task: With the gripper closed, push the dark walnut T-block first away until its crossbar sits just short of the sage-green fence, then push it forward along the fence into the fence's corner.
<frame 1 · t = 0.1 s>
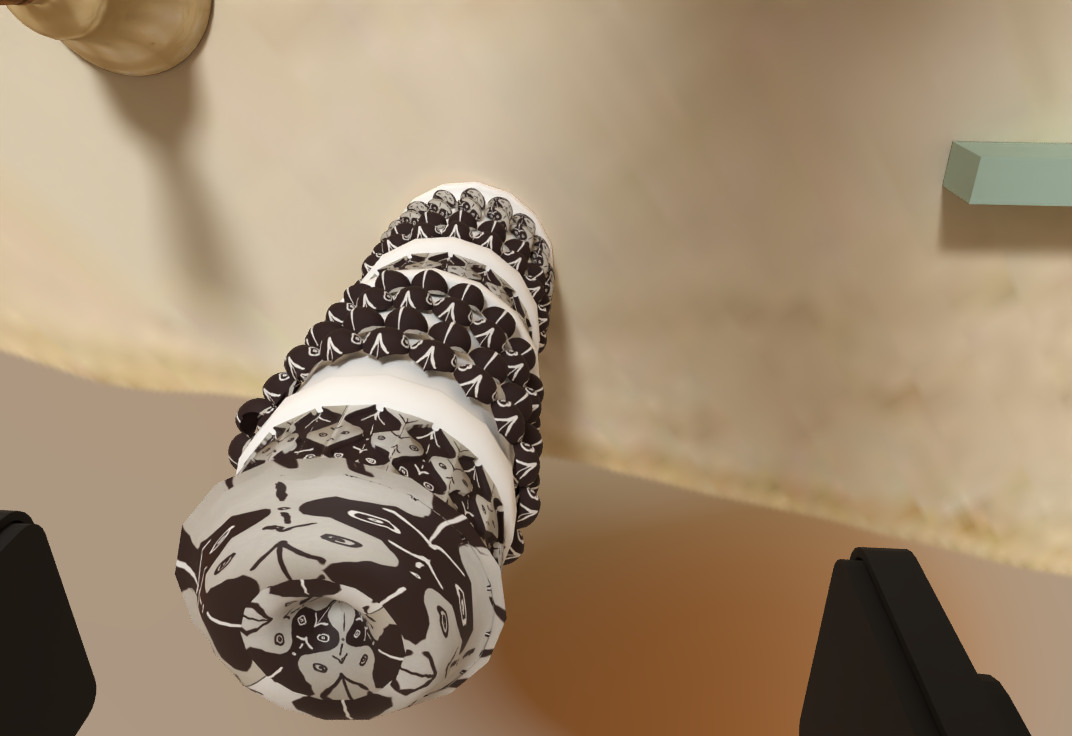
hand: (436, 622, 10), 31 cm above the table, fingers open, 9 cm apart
patterned stacked cylinder: (470, 264, 41), on the table
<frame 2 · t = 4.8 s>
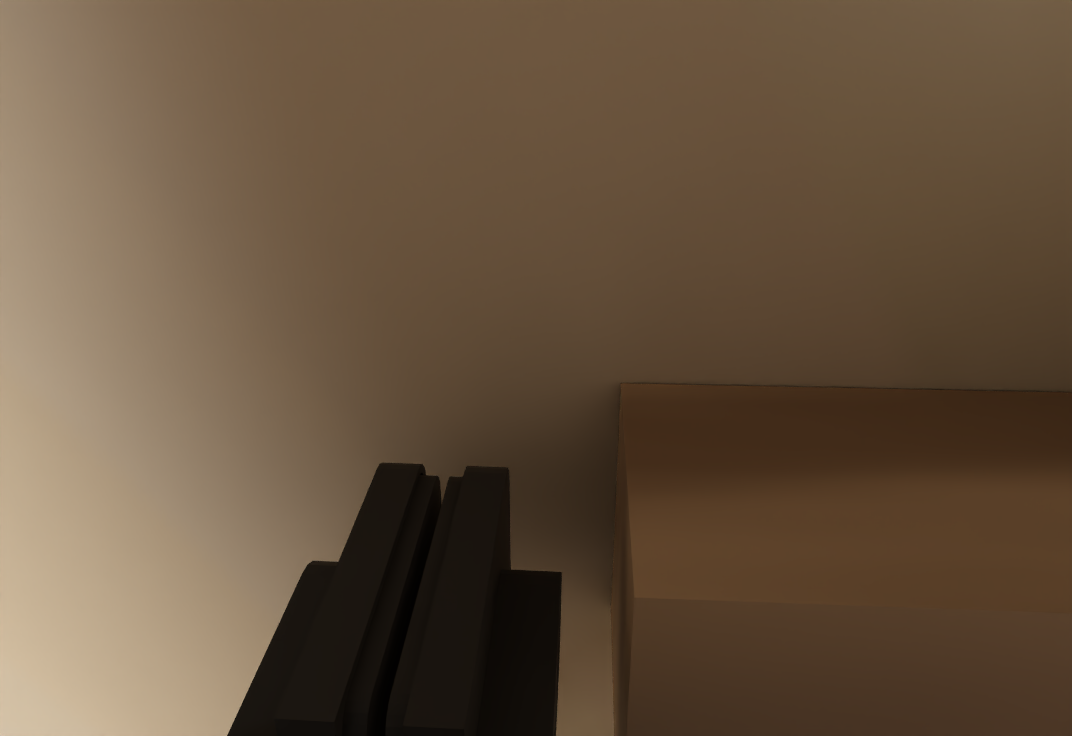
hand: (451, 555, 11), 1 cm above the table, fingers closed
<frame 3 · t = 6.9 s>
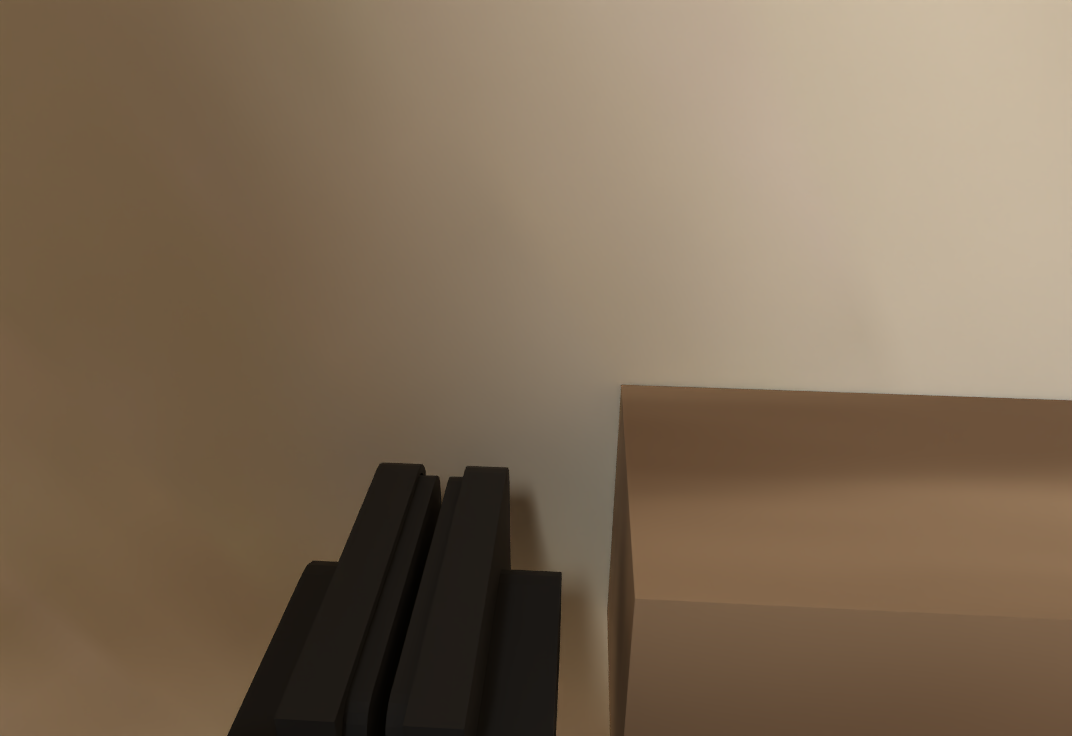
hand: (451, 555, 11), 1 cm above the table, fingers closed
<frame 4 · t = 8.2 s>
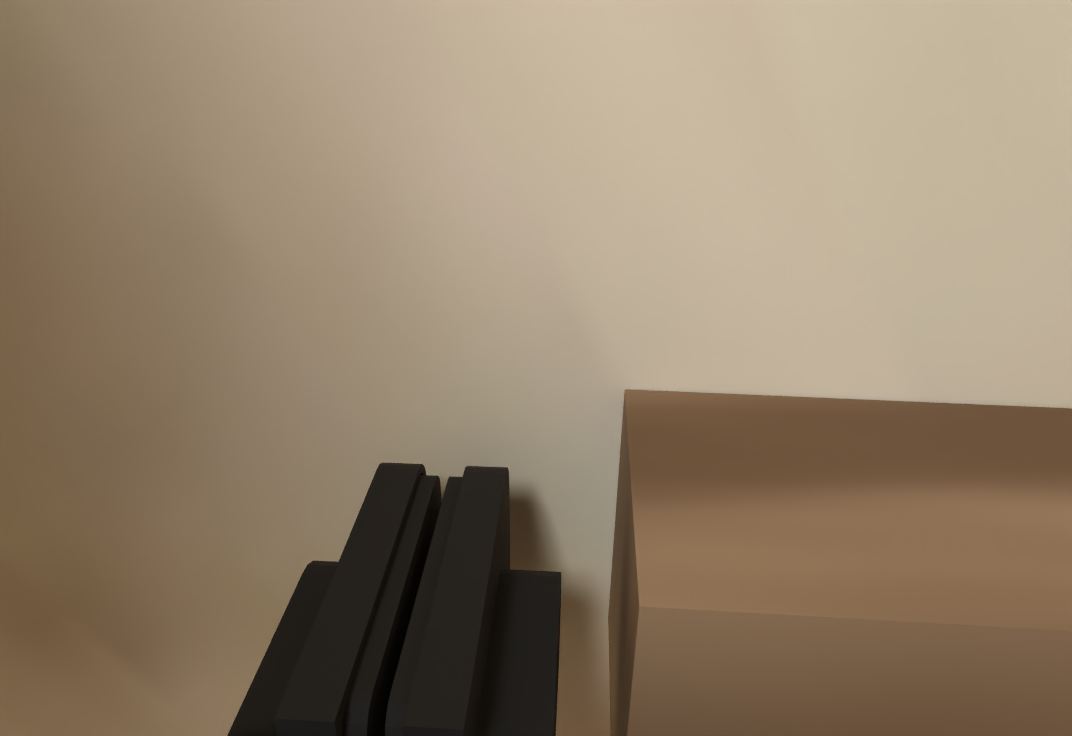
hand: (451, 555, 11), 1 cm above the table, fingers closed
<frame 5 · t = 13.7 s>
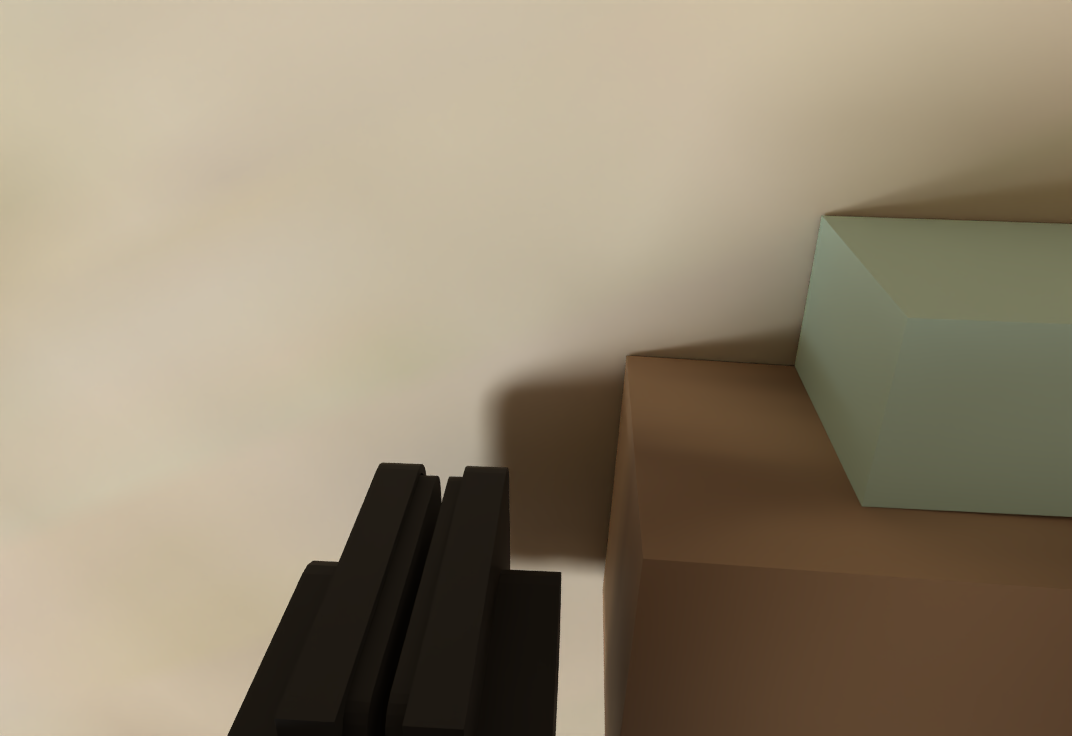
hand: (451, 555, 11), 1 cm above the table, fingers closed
t block: (1044, 511, 11), on the table, touching gripper
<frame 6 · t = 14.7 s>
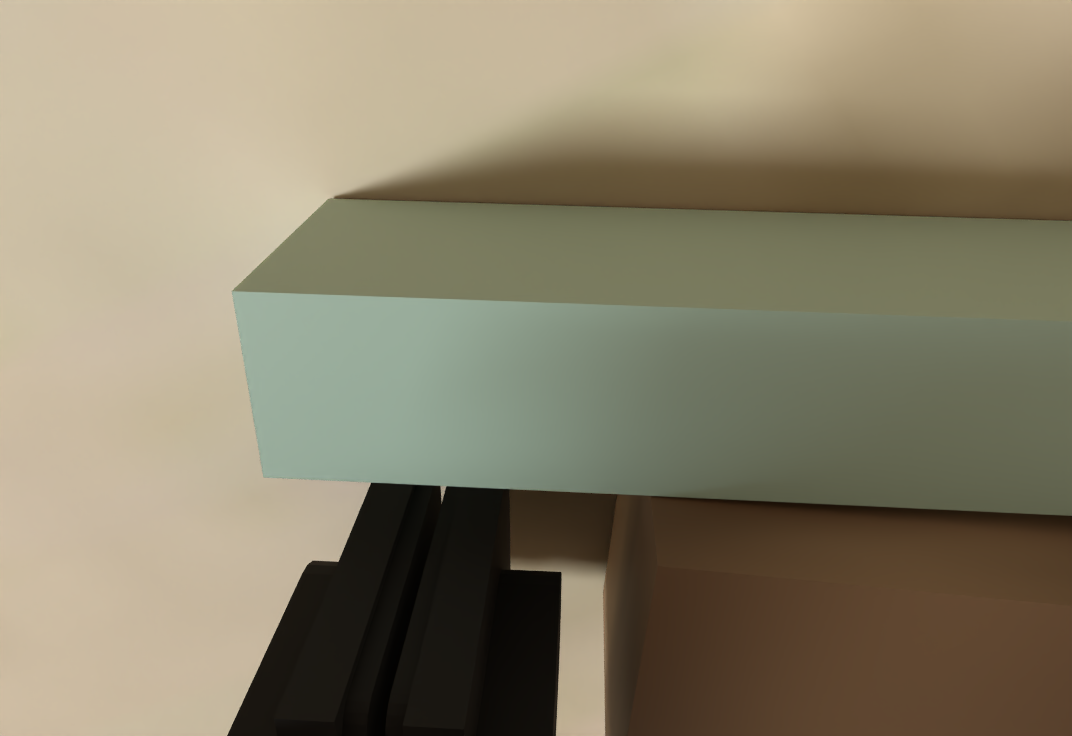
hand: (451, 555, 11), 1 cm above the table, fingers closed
t block: (1046, 525, 11), on the table, touching gripper
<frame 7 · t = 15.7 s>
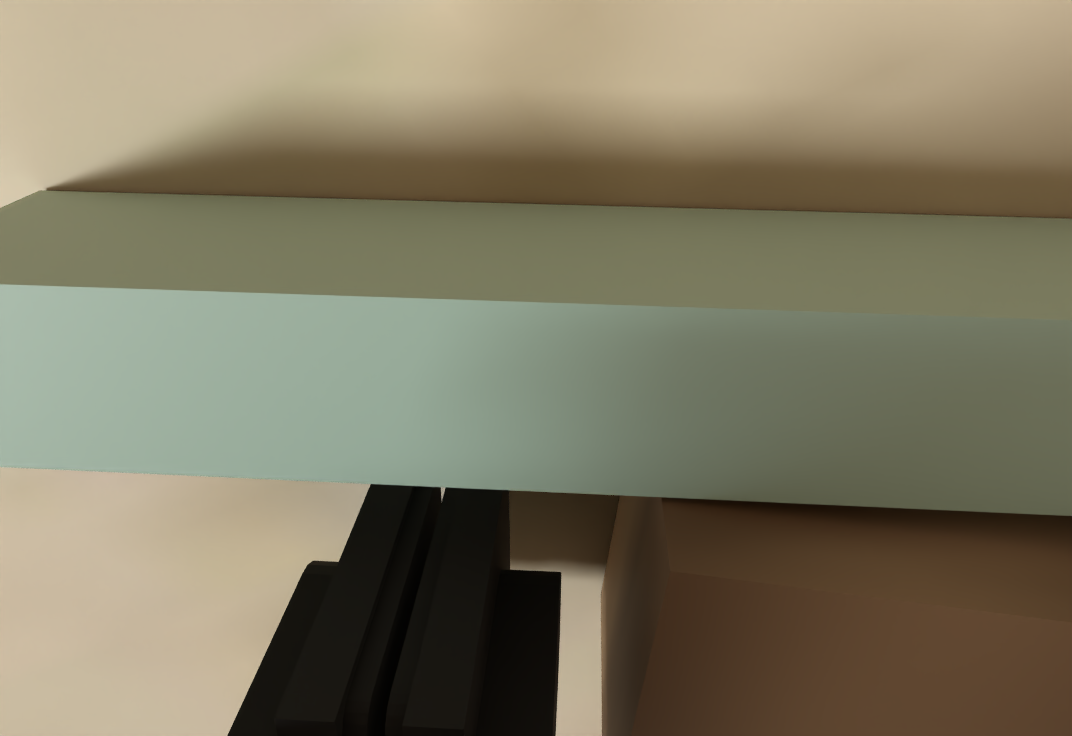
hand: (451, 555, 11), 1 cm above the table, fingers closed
corner fence: (1064, 616, 12), on the table
t block: (1044, 541, 12), on the table, touching corner fence, gripper
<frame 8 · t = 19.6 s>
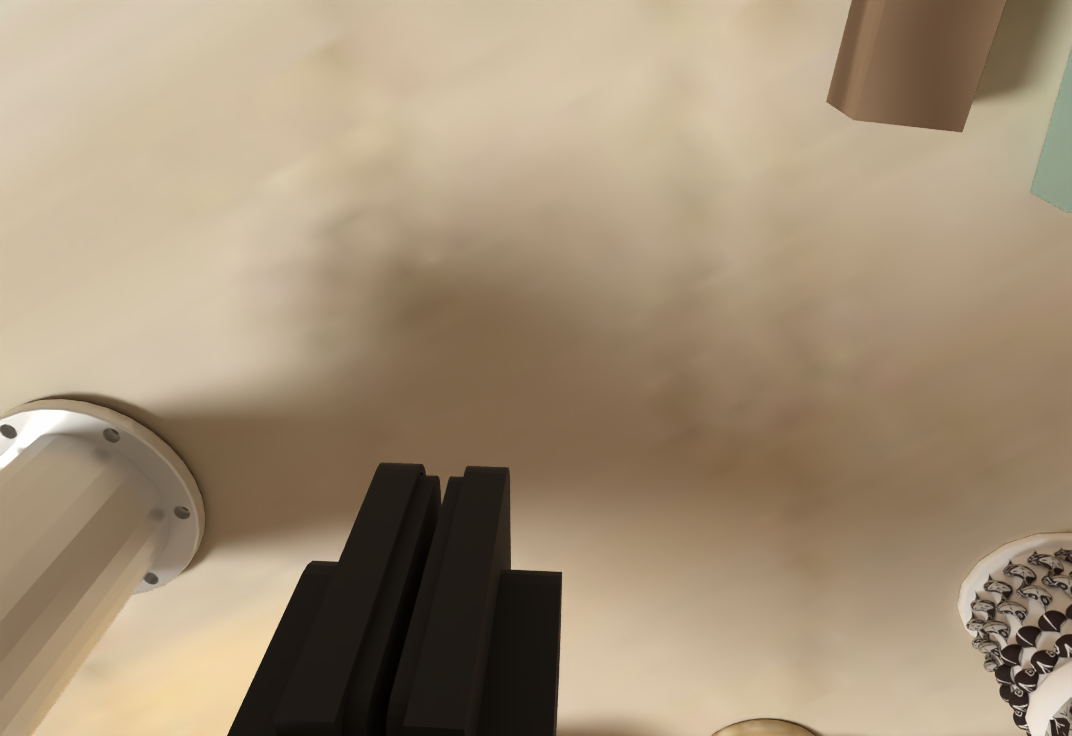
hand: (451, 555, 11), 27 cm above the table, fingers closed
patterned stacked cylinder: (1037, 591, 45), on the table
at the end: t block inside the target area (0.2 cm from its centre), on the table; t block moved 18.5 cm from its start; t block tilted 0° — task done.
